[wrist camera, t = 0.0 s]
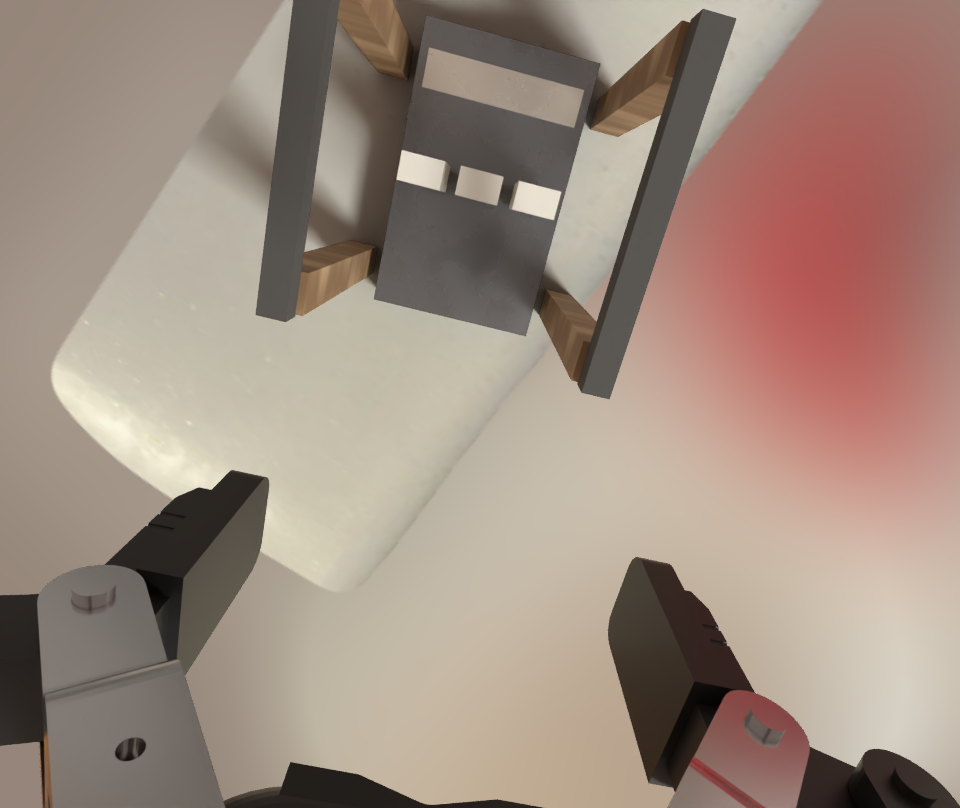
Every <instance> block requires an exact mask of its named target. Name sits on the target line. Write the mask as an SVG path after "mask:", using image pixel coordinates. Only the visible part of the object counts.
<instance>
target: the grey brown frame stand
mask: <svg viewBox="0 0 960 808" xmlns="http://www.w3.org/2000/svg"><path fill="white" fill-rule="evenodd" d="M337 21H338V22H339V23H340V24H341V26H342V27H343V28H344V29H345V31H346V32H347V33H348V34H349V36H350V37H351V38H352V39H353V41H354V42H355V43H356V44H357V46H358V47H359V48H360V49H361V51H362V52H363V53H364V54H365V56H366V57H367V58H368V59H369V61H370V62H371V63H372V64H373V66H374V67H375V68H376V69H377V71H378V72H380V73H384V74H388V75H391V76H395V77H399V78H402V79H406V80H408V74H409V69H410V63H411V58H412V52H413V45H412V43H411V41H410V39H409V36H408V34H407V32H406V30H405V28H404V25H403V23H402V21H401V19H400V16H399V14H398V12H397V10H396V8H395V5H394V3H393V1H392V0H340V3H339V10H338V17H337ZM689 25H690V23H689V22H686V21H681V22H680V23H679V24H678V25H677V26H676V27H675V28H674V29H673V30H671V31H670V32H669V33H668V34H667V35H666V36H665V37H664V38H663V39H662V40H661V41H660V42H659V43H658V44H657V45H655V46H654V47H653V48H652V49H651V50H650V51H649V52H648V53H647V54H646V55H645V56H644V57H643V58H642V59H641V60H639V61H638V62H637V63H636V64H635V65H634V66H633V67H632V68H631V69H630V70H629V71H628V72H627V73H626V74H625V75H623V76H622V77H621V78H620V79H619V80H618V81H617V82H616V83H615V84H614V85H613V86H612V87H611V88H610V89H609V90H607V91H606V92H605V93H604V94H603V95H602V96H601V97H600V98H599V100H598V104H597V108H596V111H595V115H594V118H593V122H592V126H591V130H594V131H598V132H602V133H605V134H609V135H613V136H616V137H619V136H621V135H623V134H624V133H626V132H628V131H630V130H632V129H634V128H636V127H638V126H640V125H642V124H644V123H646V122H648V121H650V120H652V119H654V118H656V117H657V116H659V115H661V114H662V111H663V108H664V105H665V102H666V98H667V95H668V92H669V89H670V86H671V82H672V79H673V76H674V73H675V70H676V66H677V63H678V60H679V57H680V54H681V50H682V47H683V44H684V41H685V38H686V34H687V31H688V28H689ZM376 251H377V247H375V246H371V245H367V244H363V243H359V242H355V241H351V240H350V241H346V242H342V243H338V244H334V245H331V246H327V247H323V248H319V249H315V250H311V251H308V252H304V256H303V264H302V271H301V278H300V285H299V292H298V299H297V306H296V313H295V314H296V315H300V316H303V315H305V314H307V313H308V312H310V311H312V310H313V309H315V308H316V307H318V306H320V305H321V304H323V303H325V302H326V301H328V300H330V299H331V298H333V297H335V296H336V295H338V294H340V293H341V292H343V291H345V290H346V289H348V288H349V287H351V286H353V285H354V284H356V283H358V282H359V281H361V280H363V279H364V278H366V277H368V276H369V275H371V274H372V273H373V267H374V262H375V256H376ZM539 316H540V318H541V320H542V322H543V324H544V326H545V328H546V330H547V332H548V334H549V336H550V338H551V340H552V342H553V344H554V346H555V348H556V350H557V352H558V354H559V356H560V358H561V360H562V362H563V365H564V367H565V369H566V370H567V372H568V375H569V377H570V379H571V380H572V381H576V382H578V380H579V377H580V374H581V371H582V368H583V364H584V361H585V358H586V355H587V352H588V348H589V345H590V342H591V339H592V336H593V332H594V329H595V326H596V323H597V322H596V321H595V320H594V319H593V318H592V316H591V315H589V313H588V312H587V311H586V310H585V309H584V308H583V307H582V306H581V305H580V304H579V303H578V302H577V301H576V300H575V299H574V298H573V297H572V296H571V295H568V294H564V293H560V292H556V291H552V290H548V289H546V291H545V294H544V298H543V302H542V305H541V309H540V312H539Z"/></svg>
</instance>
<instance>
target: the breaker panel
mask: <svg viewBox="0 0 960 808" xmlns="http://www.w3.org/2000/svg"><path fill="white" fill-rule="evenodd" d="M599 67H600V64H599V63H596V62H592V61H589V60H585V59H581V58H578V57H574V56H571V55H567V54H564V53H560V52H556V51H553V50H549V49H546V48H542V47H539V46H535V45H531V44H528V43H524V42H521V41H517V40H514V39H510V38H506V37H503V36H499V35H496V34H492V33H489V32H485V31H481V30H478V29H474V28H471V27H467V26H463V25H460V24H456V23H453V22H449V21H446V20H442V19H438V18H435V17H431V16H428V15H426V19H425V24H424V30H423V35H422V41H421V46H420V52H419V57H418V62H417V68H416V73H415V79H414V84H413V90H412V95H411V100H410V106H409V111H408V117H407V122H406V127H405V133H404V138H403V144H402V149H401V152H402V150H404V151H408V152H411V153H415V154H419V155H423V156H427V157H431V158H434V159H438V160H442V161H445V162H446V163H447V164H448V165H449V166H450V167H451V168H450V171H451V172H455V173H459V172H460V168H461V166H465V167H469V168H472V169H476V170H480V171H484V172H488V173H491V174H495V175H499V176H503V177H504V178H503V182H502V185H505V186H508V187H512V188H514V185H515V183H517V182H518V181H522V182H526V183H530V184H533V185H537V186H541V187H545V188H549V189H552V190H556V191H560V192H561V195H560V199H559V203H558V206H557V210H556V214H555V217H554V220H551V219H546V218H542V217H538V216H534V215H530V214H526V213H523V212H519V211H515V210H511V209H509V205H506V204H502V203H497V205H492V204H488V203H484V202H480V201H476V200H472V199H468V198H465V197H461V196H457V195H455V191H452V190H448V189H446V192H441V191H438V190H434V189H430V188H426V187H422V186H418V185H414V184H410V183H407V182H403V181H400V180H397V176H396V182H395V187H394V193H393V198H392V203H391V209H390V214H389V220H388V225H387V230H386V236H385V241H384V247H383V252H382V258H381V263H380V268H379V274H378V279H377V285H376V290H375V296H374V299H375V300H379V301H383V302H387V303H392V304H396V305H400V306H404V307H408V308H412V309H416V310H420V311H424V312H429V313H433V314H437V315H441V316H445V317H449V318H453V319H457V320H461V321H465V322H470V323H474V324H478V325H482V326H486V327H490V328H494V329H498V330H502V331H507V332H511V333H515V334H519V335H523V336H526V333H527V330H528V326H529V322H530V319H531V315H532V311H533V308H534V304H535V301H536V297H537V293H538V290H539V286H540V282H541V279H542V275H543V271H544V268H545V264H546V260H547V257H548V253H549V249H550V246H551V242H552V239H553V235H554V231H555V228H556V224H557V220H558V217H559V213H560V209H561V206H562V202H563V198H564V195H565V191H566V187H567V184H568V180H569V177H570V173H571V169H572V166H573V162H574V158H575V155H576V151H577V147H578V144H579V140H580V136H581V133H582V129H583V126H584V122H585V118H586V115H587V111H588V107H589V104H590V100H591V96H592V93H593V89H594V85H595V82H596V78H597V74H598V71H599ZM400 157H401V155H400ZM399 163H400V160H399ZM398 168H399V165H398ZM397 174H398V171H397Z"/></svg>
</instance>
